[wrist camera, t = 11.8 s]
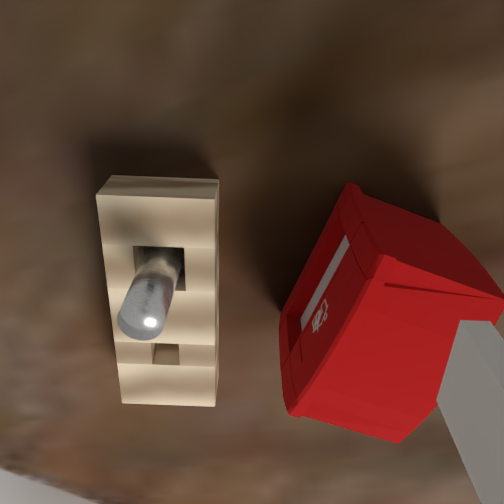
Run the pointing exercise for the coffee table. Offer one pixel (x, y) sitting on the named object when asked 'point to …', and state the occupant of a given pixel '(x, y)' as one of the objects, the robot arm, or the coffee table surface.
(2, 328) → the coffee table surface
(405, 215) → the fire alarm
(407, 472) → the coffee table surface
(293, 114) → the coffee table surface
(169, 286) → the pin
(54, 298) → the coffee table surface
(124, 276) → the bore block
